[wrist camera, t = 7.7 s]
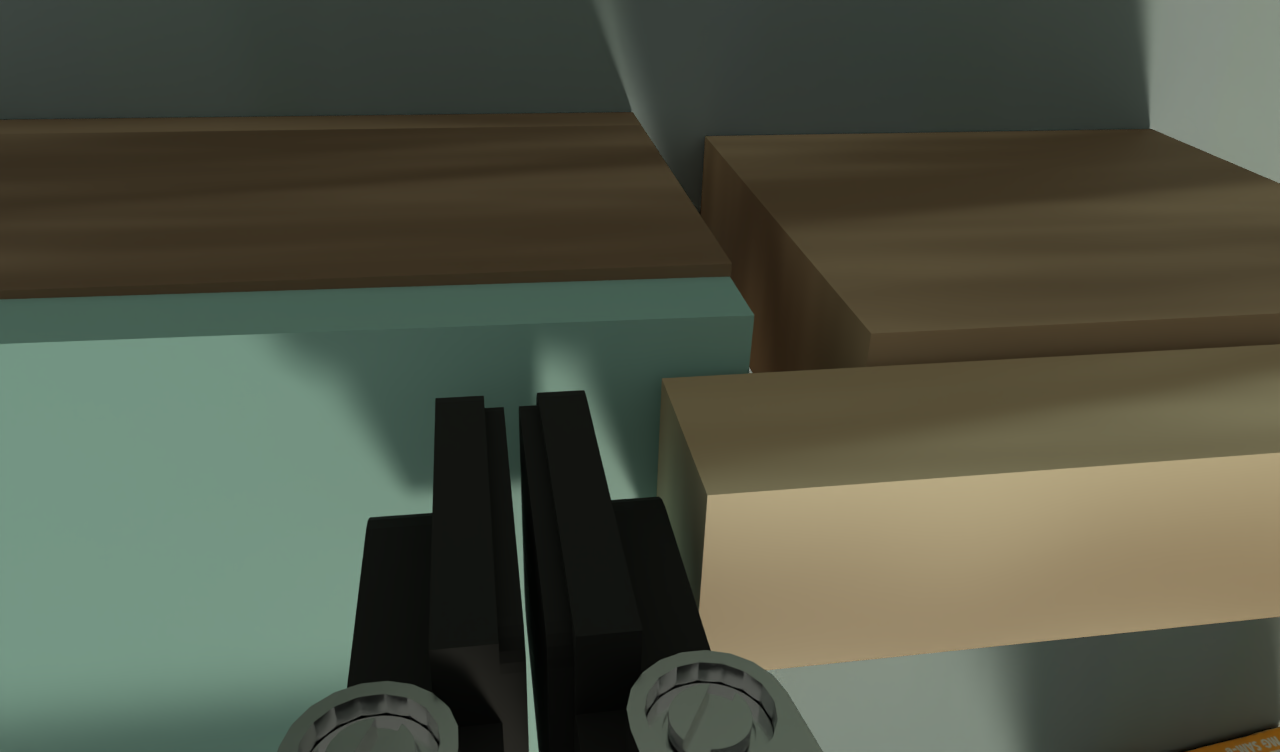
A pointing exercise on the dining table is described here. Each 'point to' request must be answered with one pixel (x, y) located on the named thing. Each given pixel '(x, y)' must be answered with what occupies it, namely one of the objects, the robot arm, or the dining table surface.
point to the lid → (274, 478)
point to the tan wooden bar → (974, 501)
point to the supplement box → (1248, 743)
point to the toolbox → (670, 225)
